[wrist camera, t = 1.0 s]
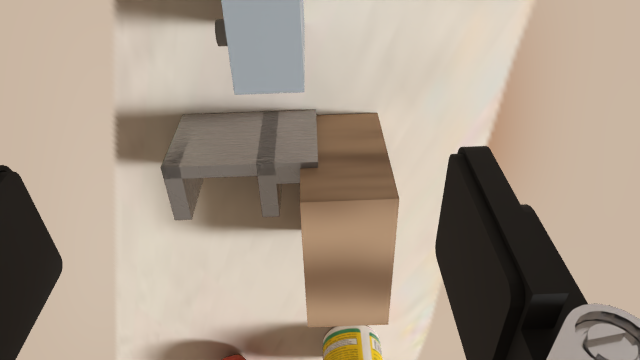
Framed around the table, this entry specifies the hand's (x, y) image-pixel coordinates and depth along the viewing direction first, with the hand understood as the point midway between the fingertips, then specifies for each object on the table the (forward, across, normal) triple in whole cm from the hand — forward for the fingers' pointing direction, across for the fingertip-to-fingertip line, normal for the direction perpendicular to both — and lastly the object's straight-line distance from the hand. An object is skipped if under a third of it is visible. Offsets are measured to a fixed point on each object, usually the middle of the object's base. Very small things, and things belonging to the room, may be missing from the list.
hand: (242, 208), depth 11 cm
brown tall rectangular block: (+19, -3, +14) cm, 24 cm away
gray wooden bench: (+19, +3, +10) cm, 22 cm away
